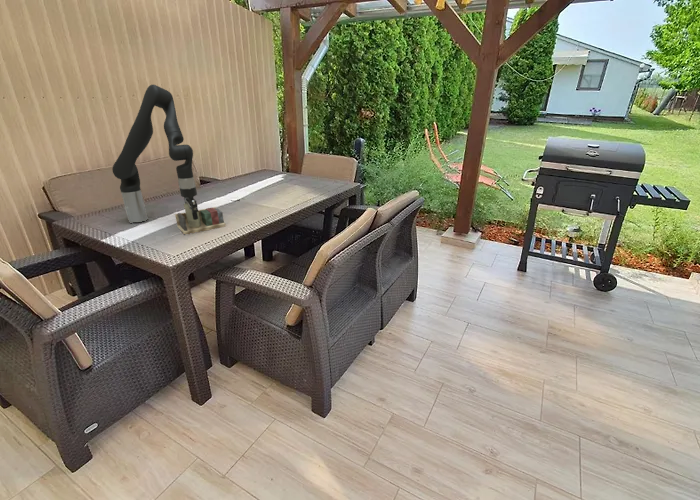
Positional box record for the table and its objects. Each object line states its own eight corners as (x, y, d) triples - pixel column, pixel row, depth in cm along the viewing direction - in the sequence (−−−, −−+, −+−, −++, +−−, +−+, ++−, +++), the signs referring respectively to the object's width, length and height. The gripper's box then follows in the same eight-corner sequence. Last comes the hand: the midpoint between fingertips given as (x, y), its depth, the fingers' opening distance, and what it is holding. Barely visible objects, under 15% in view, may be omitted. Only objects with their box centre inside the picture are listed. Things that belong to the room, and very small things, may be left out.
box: (201, 224, 185) (197, 201, 179) (198, 227, 181) (193, 203, 175) (191, 224, 184) (186, 201, 179) (188, 227, 180) (183, 203, 175)
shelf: (184, 235, 175) (181, 219, 172) (177, 227, 184) (174, 212, 181) (225, 226, 187) (223, 211, 183) (217, 219, 196) (215, 205, 193)
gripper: (175, 184, 177) (182, 215, 183) (183, 190, 166) (189, 222, 173) (191, 182, 181) (196, 212, 187) (199, 188, 170) (205, 219, 177)
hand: (193, 217), depth 180 cm, fingers open, 8 cm apart
